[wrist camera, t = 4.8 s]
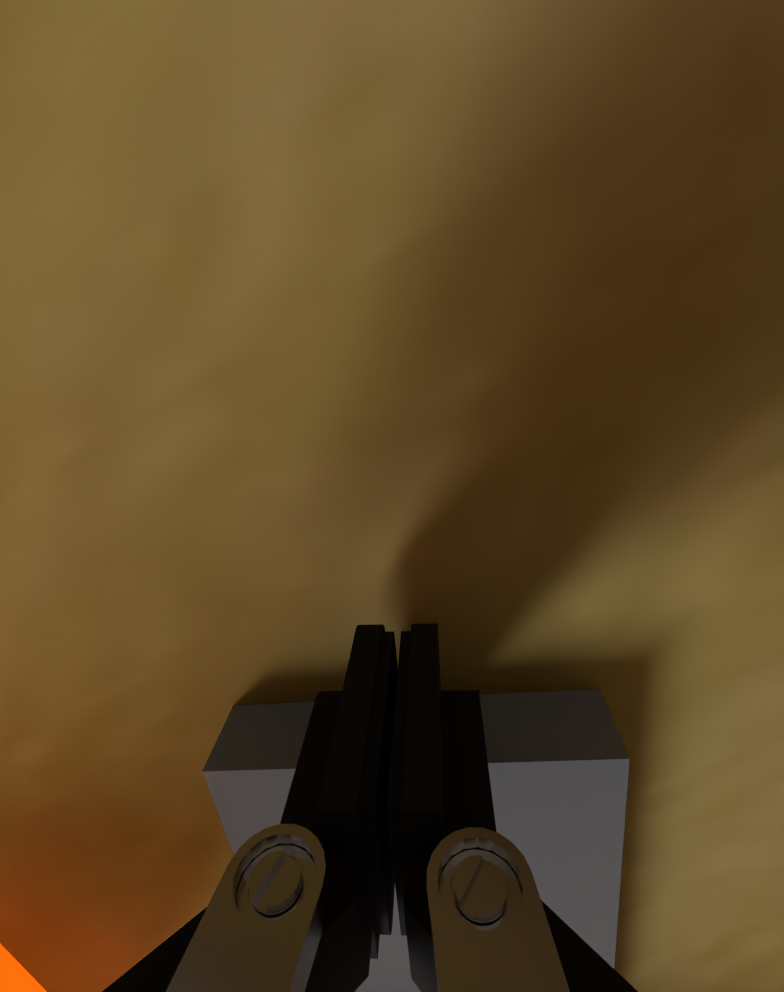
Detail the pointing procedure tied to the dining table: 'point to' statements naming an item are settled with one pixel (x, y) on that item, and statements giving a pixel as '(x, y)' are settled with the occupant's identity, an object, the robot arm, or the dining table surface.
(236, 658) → the dining table surface
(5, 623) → the dining table surface
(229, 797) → the slate tile
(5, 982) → the orange juice
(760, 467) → the dining table surface
